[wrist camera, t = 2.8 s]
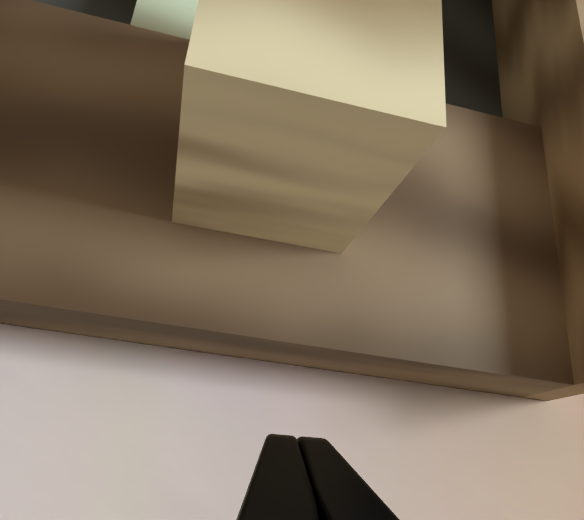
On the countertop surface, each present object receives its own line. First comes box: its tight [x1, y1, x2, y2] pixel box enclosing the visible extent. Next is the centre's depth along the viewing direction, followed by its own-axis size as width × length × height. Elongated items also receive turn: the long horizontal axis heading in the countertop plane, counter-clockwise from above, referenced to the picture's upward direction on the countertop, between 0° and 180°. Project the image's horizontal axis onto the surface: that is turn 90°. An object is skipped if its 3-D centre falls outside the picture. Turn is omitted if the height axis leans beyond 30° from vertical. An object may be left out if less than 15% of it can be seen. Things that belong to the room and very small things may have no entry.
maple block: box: [172, 0, 446, 253], centre depth 17 cm, size 8×6×8 cm
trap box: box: [0, 0, 584, 401], centre depth 22 cm, size 24×26×6 cm
